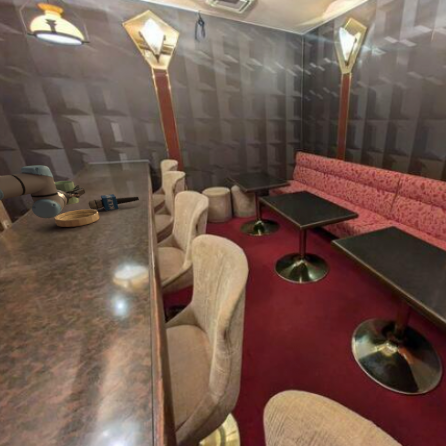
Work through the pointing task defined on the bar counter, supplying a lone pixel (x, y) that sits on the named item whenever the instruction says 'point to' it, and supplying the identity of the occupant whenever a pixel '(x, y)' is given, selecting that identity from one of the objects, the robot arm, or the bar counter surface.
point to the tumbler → (67, 189)
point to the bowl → (77, 218)
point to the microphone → (110, 202)
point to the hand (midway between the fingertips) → (67, 188)
